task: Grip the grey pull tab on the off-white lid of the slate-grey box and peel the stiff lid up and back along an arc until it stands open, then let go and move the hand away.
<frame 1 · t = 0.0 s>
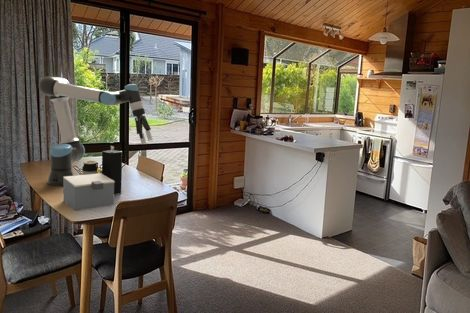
hand: (147, 142, 235), 28 cm above the table, tool tilted 20°, fingers open, 13 cm apart
lid: (90, 180, 193), point 13 cm above the table, hinge at 0.0°
travel mug: (89, 192, 215), on the table
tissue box: (111, 193, 217), on the table
carton: (88, 202, 197), on the table
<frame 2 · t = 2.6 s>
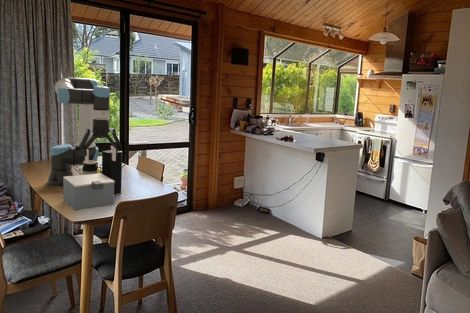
hand: (100, 161, 184), 25 cm above the table, tool pointing down, fingers open, 13 cm apart
nothing on the table moved.
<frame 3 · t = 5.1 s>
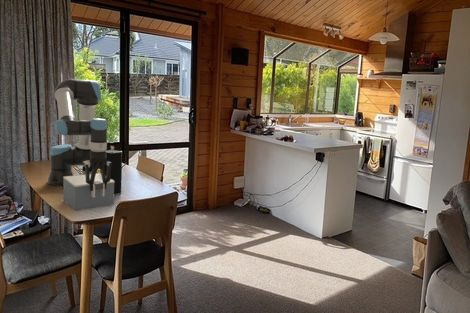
hand: (98, 196, 186), 7 cm above the table, tool pointing down, fingers closed on lid, 4 cm apart
lid: (90, 180, 193), point 13 cm above the table, hinge at 0.0°, touching gripper
everything else where it was.
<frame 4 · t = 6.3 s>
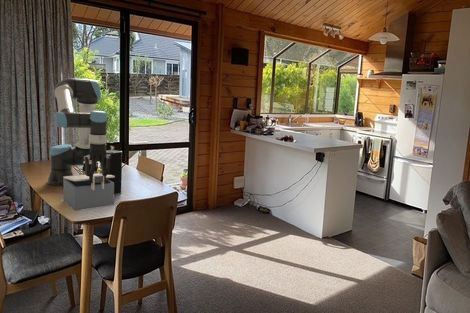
hand: (97, 188, 186), 11 cm above the table, tool pointing down, fingers closed on lid, 4 cm apart
lid: (90, 177, 193), point 14 cm above the table, hinge at 8.8°, touching gripper
everything else where it was.
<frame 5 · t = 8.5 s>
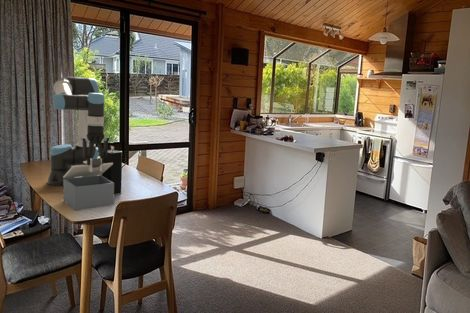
hand: (95, 170, 187), 19 cm above the table, tool pointing down, fingers closed on lid, 4 cm apart
lid: (89, 168, 193), point 19 cm above the table, hinge at 30.5°, touching gripper
everything else where it was.
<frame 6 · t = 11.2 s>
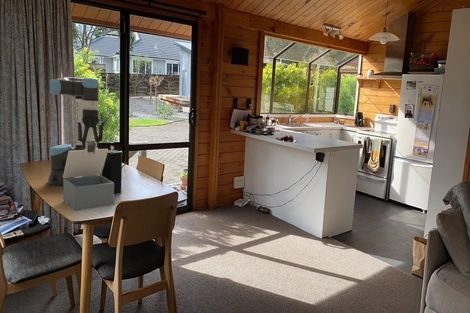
hand: (90, 154, 191), 26 cm above the table, tool pointing down, fingers closed on lid, 4 cm apart
lid: (86, 159, 196), point 23 cm above the table, hinge at 58.7°, touching gripper
everything else where it was.
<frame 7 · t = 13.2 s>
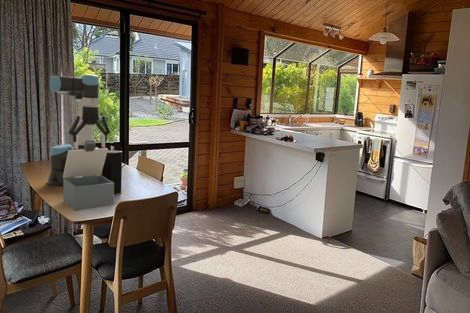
hand: (90, 147, 191), 30 cm above the table, tool pointing down, fingers open, 13 cm apart
lid: (86, 159, 196), point 23 cm above the table, hinge at 60.6°
everything else where it was.
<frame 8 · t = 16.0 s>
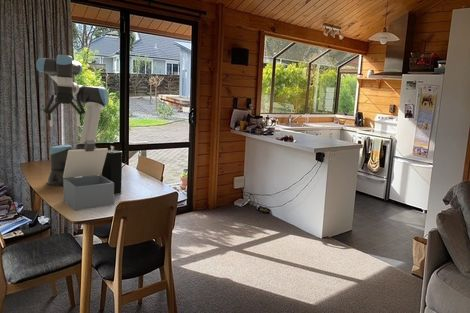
hand: (64, 126, 197), 39 cm above the table, tool pointing down, fingers open, 13 cm apart
nothing on the table moved.
at the end: lid at +61° (first picture: +0°); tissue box moved 0.2 cm from its start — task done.
